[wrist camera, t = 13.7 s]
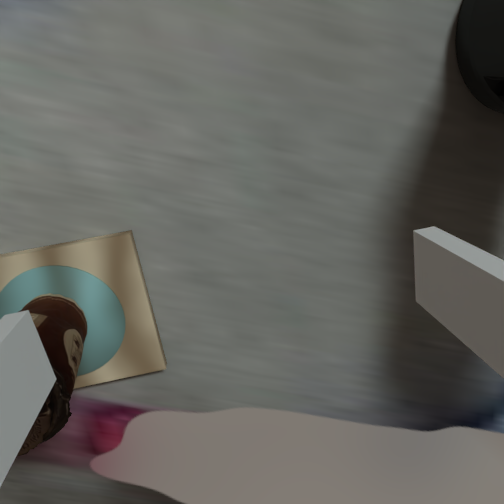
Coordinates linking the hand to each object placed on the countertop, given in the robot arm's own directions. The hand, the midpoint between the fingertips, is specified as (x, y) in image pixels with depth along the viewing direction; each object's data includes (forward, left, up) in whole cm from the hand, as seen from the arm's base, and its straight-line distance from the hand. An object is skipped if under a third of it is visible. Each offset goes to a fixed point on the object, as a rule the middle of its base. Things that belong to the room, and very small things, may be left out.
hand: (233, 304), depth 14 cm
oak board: (+16, +11, -26) cm, 33 cm away
